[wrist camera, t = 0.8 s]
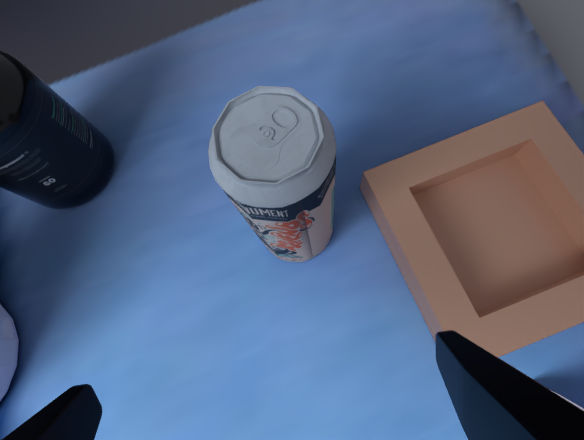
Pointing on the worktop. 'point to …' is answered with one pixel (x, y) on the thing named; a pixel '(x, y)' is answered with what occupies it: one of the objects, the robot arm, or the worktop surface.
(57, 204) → the supplement bottle
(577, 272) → the holder
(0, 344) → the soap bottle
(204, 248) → the worktop surface
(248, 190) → the beer can
